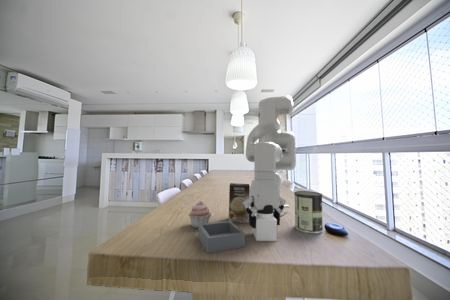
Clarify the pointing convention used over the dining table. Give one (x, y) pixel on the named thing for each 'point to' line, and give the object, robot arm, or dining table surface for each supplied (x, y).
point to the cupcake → (199, 214)
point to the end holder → (221, 236)
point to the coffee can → (308, 212)
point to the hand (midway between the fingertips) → (264, 225)
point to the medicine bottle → (265, 225)
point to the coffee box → (238, 202)
